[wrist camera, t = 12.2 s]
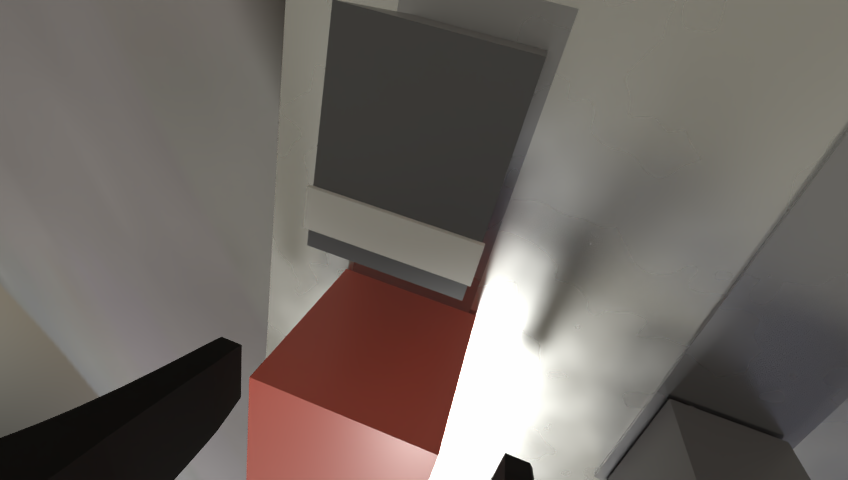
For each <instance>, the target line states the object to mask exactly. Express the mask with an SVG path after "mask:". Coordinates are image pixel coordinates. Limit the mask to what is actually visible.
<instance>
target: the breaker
mask: <svg viewBox="0 0 848 480" xmlns="http://www.w3.org/2000/svg"><path fill="white" fill-rule="evenodd" d="M607 480H811V479H810V477H809V476H808V474H807V472H806V471H805V469H804V467H803V466H802V464H801V462H800V460H799V459H798V457H797V455H796V454H795V452H794V450H793V449H792V447H791V445H790V444H789V442H787V441H784V440H781V439H779V438H776V437H773V436H770V435H768V434H765V433H762V432H759V431H757V430H754V429H751V428H748V427H746V426H743V425H740V424H738V423H735V422H732V421H729V420H727V419H724V418H721V417H718V416H716V415H713V414H710V413H707V412H705V411H702V410H699V409H697V408H694V407H691V406H688V405H686V404H683V403H680V402H677V401H675V400H672V399H669V400H668V401H667V402H666V404H665V405H664V406H663V408H662V409H661V410H660V412H659V413H658V414H657V415H656V417H655V418H654V419H653V421H652V422H651V423H650V425H649V426H648V427H647V429H646V430H645V431H644V432H643V434H642V435H641V436H640V438H639V439H638V440H637V442H636V443H635V444H634V445H633V447H632V448H631V449H630V451H629V452H628V453H627V455H626V456H625V457H624V459H623V460H622V461H621V462H620V464H619V465H618V466H617V468H616V469H615V470H614V472H613V473H612V474H611V475H610V477H609V478H608V479H607Z"/></svg>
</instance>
